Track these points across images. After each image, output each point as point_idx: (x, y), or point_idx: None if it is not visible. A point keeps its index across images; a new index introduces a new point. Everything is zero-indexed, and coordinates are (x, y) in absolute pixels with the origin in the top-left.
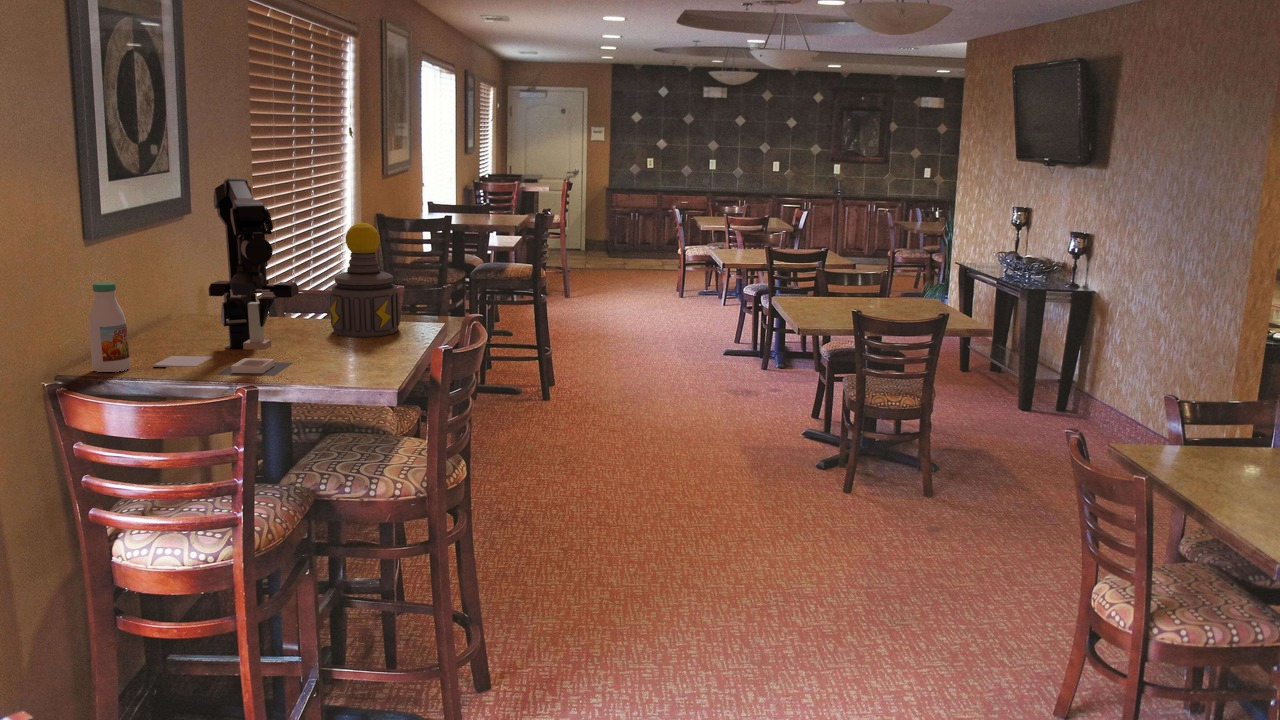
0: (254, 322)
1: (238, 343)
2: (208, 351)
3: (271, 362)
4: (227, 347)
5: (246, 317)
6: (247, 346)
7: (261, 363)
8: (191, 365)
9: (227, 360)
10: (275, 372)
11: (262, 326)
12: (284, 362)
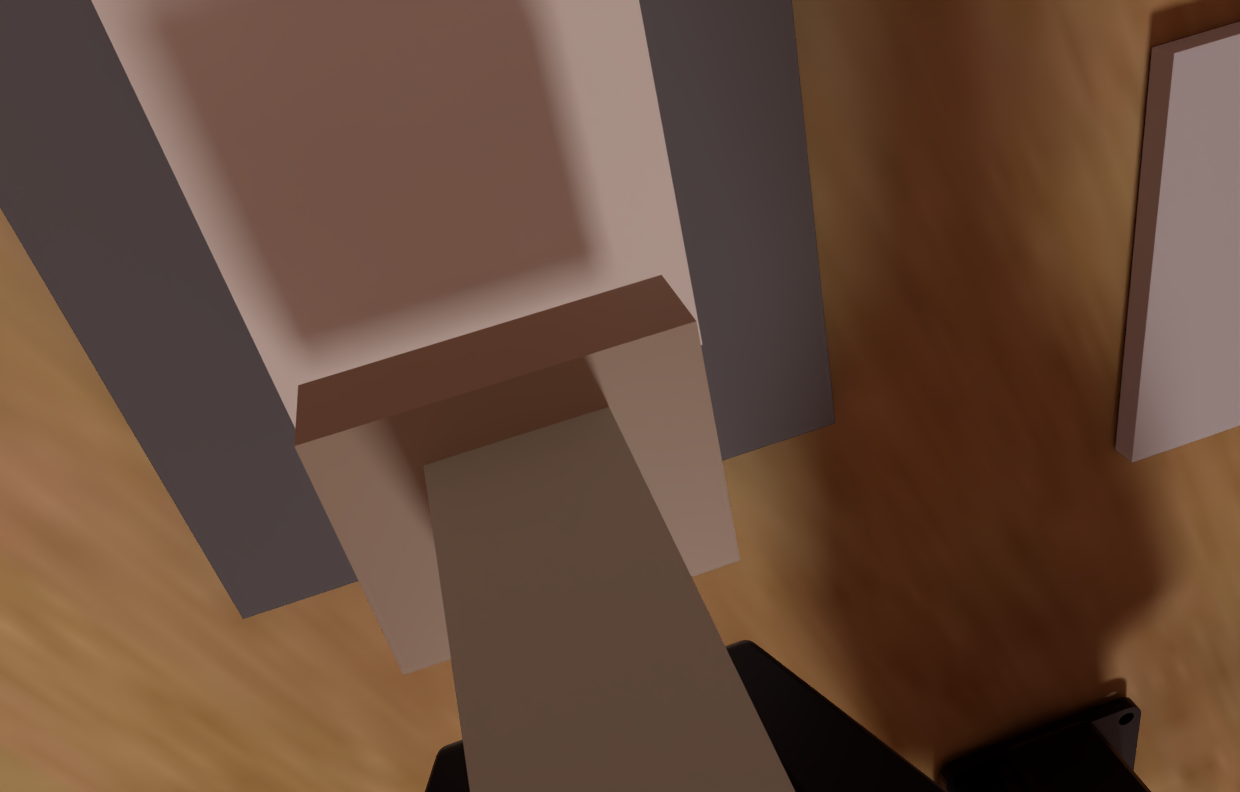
0: (592, 728)
1: (1055, 775)
2: (1230, 623)
3: (263, 350)
4: (1124, 727)
5: (862, 780)
6: (607, 318)
7: (268, 165)
8: (1229, 59)
9: (981, 467)
10: (6, 117)
11: (442, 751)
12: (341, 583)
